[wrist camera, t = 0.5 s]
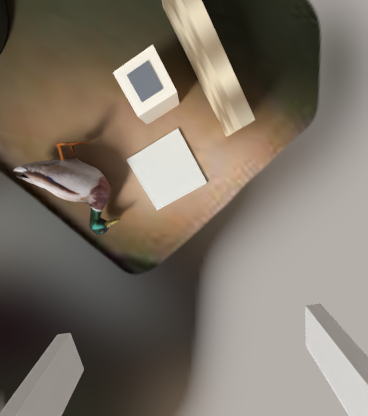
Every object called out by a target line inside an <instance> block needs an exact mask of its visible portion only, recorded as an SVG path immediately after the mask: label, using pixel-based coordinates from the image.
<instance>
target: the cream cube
mask: <svg viewBox="0 0 368 416" xmlns="http://www.w3.org/2000/svg"><path fill="white" fill-rule="evenodd" d="M113 74H114V76H115V78H116V79H117V81H118V83H119V85H120V86H121V88H122V90H123V92H124V93H125V95H126V97H127V98H128V100H129V102H130V104H131V105H132V107H133V109H134V111H135V112H136V114H137V116H138V117H139V118H140V119H141V120H142V121H144V122H145V123H146V124H149V123H151V122H152V121H154V120H155V119H157V118H159V117H160V116H162V115H163V114H165V113H166V112H168V111H170V110H171V109H173V108H174V107H176V106H178V105H179V99H178V94H177V91H176V89H175V87H174V85H173V83H172V81H171V79H170V77H169V75H168V73H167V71H166V69H165V67H164V65H163V64H162V62H161V60H160V58H159V56H158V54H157V52H156V50H155V48H154V46H153V45H151V46H150V47H149V48H147V49H146V50H144V51H143V52H141V53H140V54H139V55H137V56H136V57H134V58H133V59H131V60H130V61H129V62H127V63H126V64H124V65H123V66H121V67H120V68H119V69H117V70H116V71H114V72H113Z"/></svg>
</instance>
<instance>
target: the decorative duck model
mask: <svg viewBox="0 0 368 416" xmlns="http://www.w3.org/2000/svg"><path fill="white" fill-rule="evenodd" d="M86 143H89V141H88V142H69V143H57V144H56V146H57V147H58V150H59V155H60V159H57V160H49V161H40V162H33V163H29V164H24V165H21V166H19V167H17V168H16V169H14V170H13V171H14V172H19V173H21V174H23V175H21V176H17V177H18V178H20V179H23V180H26V181H28V182H30V183H32V184H35V185H37V186H39V187H42V188H44V189H46V190H48V191H50V192H51V193H53V194H54V195H56V196H58V197H59V198H62V199H64V200H67V201H72V202H81V203H87V204H89V206H90V208H91V214H90V228H91V230H92V231H93V232H94V233H96V234H103V233H105V232H106V231H107V230H108V228H109V227H110V226H111V225H112V224H114V223H116V222H118V221H119V220H120V218H117V219H114V220H110V221H106V220H104V219H102V218H101V217H100V215H101V212H102V210H103V208H104V206H105V205H106V203H107V201H108V199H109V197H110V193H111V187H110V184H109V182H108V181H107V179H106V178H105V176H104V175H103V174H102V173H101V172H100V171H99V170H98V169H97V168H95V167H93V166H90V165H88V164H86V163H84V162H82V161H80V160H78V159H77V158H76V155H75V151H74V145H80V144H86ZM66 145H69V146H70V149H71V152H72V156H73V159H72V160H71V159H64V156H63V153H62V146H66Z"/></svg>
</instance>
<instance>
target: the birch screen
mask: <svg viewBox="0 0 368 416" xmlns="http://www.w3.org/2000/svg"><path fill="white" fill-rule="evenodd" d="M162 3H163V8H164V10H165V12H166V14H167V16H168V18H169V20H170V22H171V25H172V27H173V29H174V31H175V33H176V35H177V37H178V39H179V41H180V43H181V45H182V47H183V49H184V51H185V53H186V55H187V57H188V59H189V61H190V63H191V65H192V67H193V70H194V72H195V74H196V76H197V78H198V80H199V82H200V84H201V86H202V88H203V90H204V92H205V94H206V96H207V98H208V100H209V102H210V104H211V106H212V108H213V110H214V113H215V115H216V117H217V119H218V121H219V123H220V125H221V127H222V129H223V131H224V133H225V135H226V137H227V136H229V135H230V134H232V133H234V132H236V131H237V130H239V129H241V128H242V127H244V126H246V125H248V124H249V123H251V122H253V121H254V120H255V118H254V116H253V114H252V111H251V109H250V107H249V105H248V102H247V100H246V98H245V96H244V93H243V91H242V89H241V87H240V85H239V82H238V80H237V78H236V76H235V73H234V71H233V69H232V67H231V64H230V62H229V60H228V58H227V56H226V53H225V51H224V49H223V47H222V44H221V42H220V40H219V38H218V35H217V33H216V31H215V29H214V27H213V24H212V22H211V20H210V18H209V15H208V13H207V11H206V9H205V6H204V4H203V2H202V0H162Z"/></svg>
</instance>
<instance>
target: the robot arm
mask: <svg viewBox="0 0 368 416" xmlns="http://www.w3.org/2000/svg"><path fill="white" fill-rule="evenodd" d="M7 30H8V14H7V8H6V3H5V0H0V51H1V50H2V48H3V46H4V43H5V40H6V36H7ZM306 347H307V349H308V350H309V352H310V354H311V355H312V357H313V358H314V360H315V361H316V363H317V365H318V367H319V368H320V370H321V371H322V373H323V375H324V376H325V378H326V379H327V381H328V383H329V384H330V386H331V388H332V389H333V391H334V392H335V394H336V395H337V397H338V399H339V400H340V402H341V403H342V405H343V407H344V409H345V410H346V412H347V413H348V415H349V416H368V357H367V355H366V354H365V353H364V352H363V351H362V350H361V349H360V348H359V347H358V345H357V344H356V343H355V342H354V341H353V340H352V339H351V338H350V336H349V335H348V334H347V333H346V332H345V331H344V330H343V329H342V327H341V326H340V325H339V324H338V323H337V322H336V321H335V320H334V318H333V317H332V316H331V315H330V314H329V313H328V312H327V311H326V310H325V308H324V307H323V306H322V305H321V304H315V305H307V306H306ZM83 370H84V368H83V365H82V363H81V360H80V357H79V355H78V352H77V349H76V347H75V344H74V342H73V339H72V336H71V334H70V333H66V334H58V335H57V336H56V337H55V339H54V340H53V341H52V343H51V344H50V345H49V347H48V348H47V350H46V351H45V352H44V354H43V355H42V356H41V358H40V359H39V361H38V362H37V363H36V365H35V366H34V367H33V369H32V370H31V371H30V373H29V374H28V375H27V377H26V378H25V380H24V381H23V382H22V384H21V385H20V386H19V388H18V389H17V390H16V392H15V393H14V394H13V396H12V397H11V399H10V400H9V401H8V403H7V404H6V405H5V407H4V408H3V410H2V411H1V412H0V416H61V415H62V413H63V411H64V409H65V407H66V405H67V403H68V401H69V399H70V397H71V395H72V393H73V391H74V389H75V387H76V385H77V383H78V381H79V379H80V377H81V374H82V372H83Z"/></svg>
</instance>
